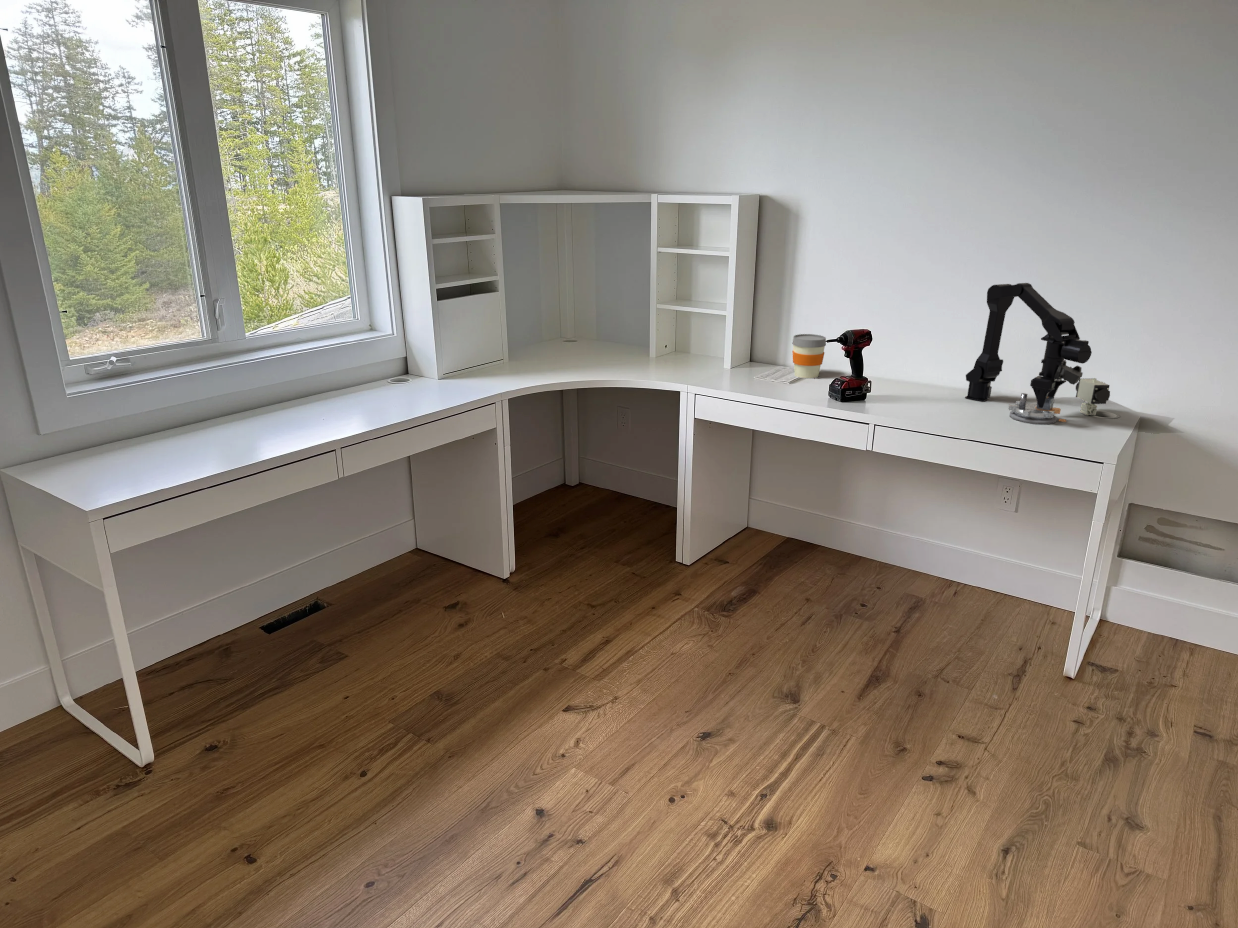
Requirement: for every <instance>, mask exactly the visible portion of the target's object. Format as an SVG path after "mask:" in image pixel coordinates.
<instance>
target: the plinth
mask: <svg viewBox="0 0 1238 928" xmlns="http://www.w3.org/2000/svg"><path fill="white" fill-rule="evenodd" d="M1009 417H1010V418H1011V419H1013V420H1015V421H1017V422H1021V423H1025V424H1032V425H1053V424H1055V423H1056V422H1057V416H1056V415H1054V418H1052V419H1048V420H1037V419H1028V418H1024V417H1020V416H1017V415H1015V414H1014V413H1013V411H1012V410H1010V412H1009ZM1058 422H1062V423H1066V422H1067V419H1064V418H1059V419H1058Z"/></svg>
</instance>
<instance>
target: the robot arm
mask: <svg viewBox="0 0 1238 928" xmlns="http://www.w3.org/2000/svg"><path fill="white" fill-rule="evenodd" d="M1016 297H1018V298H1019V299H1020V300H1021V301H1022V302H1023V303H1024V304H1025V305H1026V306H1027V308H1029V309H1030V310H1031V311H1032V312H1033V313H1034V314H1035V315H1036V316H1037V318H1039V320H1040V321H1041V325H1042V328H1043V329H1044V330H1045V332H1046V335H1044V336H1043V337H1041V338H1040V340H1041V341H1044V342H1046V345H1045V349H1044V350H1045V351H1044V355H1043V358H1042V359H1041V361H1040V362H1041V364H1042V366H1041V371H1040V372H1039V373H1038V376H1035V377H1034V378H1032V379H1031V380H1030V383H1029V384H1030V385H1029V386H1030V387H1031V389H1032V390H1033V393H1034V396H1035V399H1036V401H1037V402H1038V406H1039V407H1040V408H1043V406H1044V404H1045V401H1046V398H1047V396H1049V397H1054V398H1055V397H1056V394H1057V392H1058V390H1059V388H1060V386H1062V385H1063V384H1065V383H1067V382H1068V383H1069V384H1070V385H1073V386H1074V385H1075V384H1077V383H1078V382H1079V379H1082V376H1083V374H1084V373H1083V372H1082V367H1081V366H1079V365H1076V366H1074V367H1072V366H1068V365H1067V361H1070V362H1074V363H1078V364H1085V363H1087V362H1088V361H1089V360H1090V358H1091V356H1092V352H1093V351H1092V349H1091V346H1090V345H1089V340H1086V339H1085V340H1082V339H1081V337H1080V335H1079V332H1078V330H1077V328H1076V326H1075V320H1074V318H1072V316H1070V315H1068V314H1067V313H1065V312H1063V311H1061V310H1058V309H1056V308H1054V306H1052V304H1050V303H1049V302H1048V300H1046V299H1045V298H1044V297H1043V296H1042V295H1041V294H1040V293H1039V292H1038V291H1037V290H1036V289H1035V288H1033V285H1032V283H1029V282H1021V283H1020V282H1019V283H1016V284H1010V283H1002V284H1001V283H1000V284H993V285H991V286H990V287H988V289H987V293H986V304H987V305H986V306H987V308H988V309H989V312H988V313H989V314H988V318H987V323H986V331H985V334H984V341H983V346H982V351H981V353H980V354H979V356H978V357H977V358H976V361H975V363H974V366H973V368H972V369H971V370H970V371H968V372H967V373H966V374H965V381H966V382H968V389H967V395H966V396H965V399H968V400H975V401H979V402H986V401H987V400H989V399H991V394H992V387H993V386H991V385H992V382H995V381H996V379H997V377H998V376H1000V373H1001V372H1002V371H1003V364H1004V359H1001V358H1000V356H999V349H1000V344H1001V339H1002V333H1003V329H1004V324H1005V323H1004V322H1005V318H1006V314H1007V312H1008V310H1009V308H1010V307H1011V306H1012V304H1013V302H1014V300H1015V298H1016ZM1037 402H1036V403H1037Z"/></svg>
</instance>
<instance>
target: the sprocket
mask: <svg viewBox="0 0 1238 928" xmlns="http://www.w3.org/2000/svg"><path fill="white" fill-rule="evenodd" d="M1027 399H1028V393H1026V392H1021V393H1020V400H1015V404H1008V406H1007V410H1008V411H1013V413H1014V414H1015V415H1017V416H1020V417H1024V418H1028V419H1037V420H1048V419H1052V418H1054V416H1055V415H1060V414H1061V409H1062V408H1060V407H1053V408H1052V409H1051V410H1044V409H1037V403H1027Z"/></svg>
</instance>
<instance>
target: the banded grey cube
mask: <svg viewBox="0 0 1238 928" xmlns="http://www.w3.org/2000/svg"><path fill="white" fill-rule="evenodd" d="M1054 401H1055V396H1054V397H1049V396H1047V398H1046V401H1045V404H1044V406H1043V408H1040V407H1039V406H1038V402H1036V404H1037V409H1044V410H1051V409H1052V408H1054V403H1055V402H1054Z"/></svg>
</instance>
